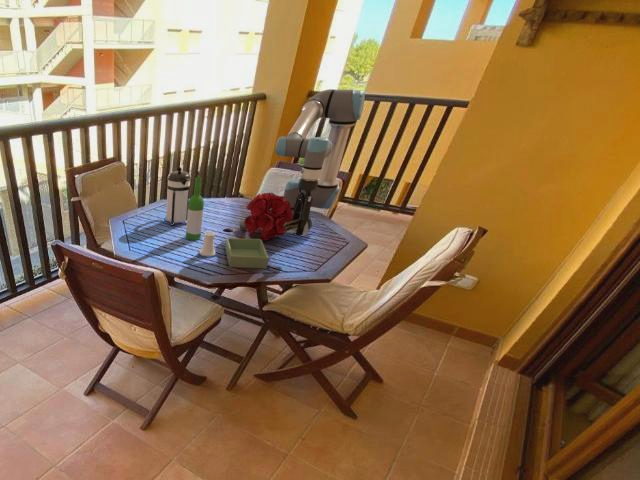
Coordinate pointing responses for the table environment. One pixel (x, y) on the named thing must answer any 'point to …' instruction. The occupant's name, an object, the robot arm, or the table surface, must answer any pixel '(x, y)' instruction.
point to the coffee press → (177, 196)
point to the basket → (246, 253)
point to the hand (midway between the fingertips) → (296, 231)
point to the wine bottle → (195, 213)
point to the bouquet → (267, 215)
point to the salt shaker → (208, 245)
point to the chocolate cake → (293, 225)
